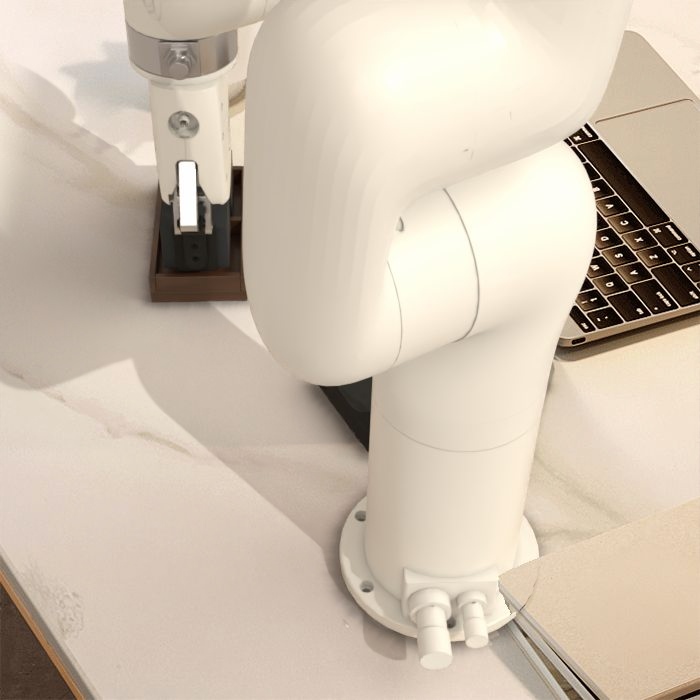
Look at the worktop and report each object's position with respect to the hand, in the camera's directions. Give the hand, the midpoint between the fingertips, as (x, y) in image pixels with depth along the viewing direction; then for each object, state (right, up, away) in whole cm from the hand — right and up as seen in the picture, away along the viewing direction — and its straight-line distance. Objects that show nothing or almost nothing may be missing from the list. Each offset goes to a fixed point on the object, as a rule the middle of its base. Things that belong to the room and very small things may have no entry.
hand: (198, 243), depth 99 cm
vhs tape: (+18, -11, -7) cm, 22 cm away
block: (0, 0, 0) cm, 0 cm away
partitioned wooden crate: (0, 0, +4) cm, 4 cm away
